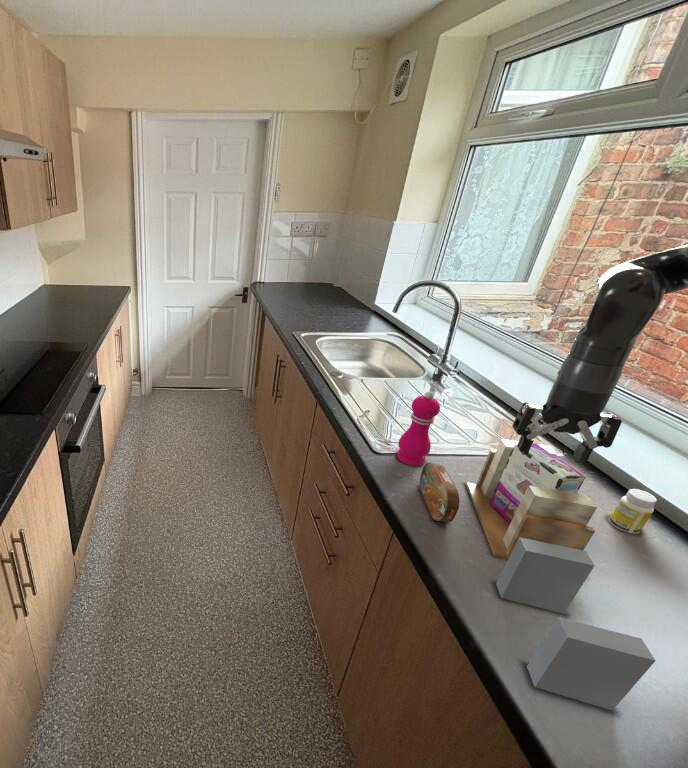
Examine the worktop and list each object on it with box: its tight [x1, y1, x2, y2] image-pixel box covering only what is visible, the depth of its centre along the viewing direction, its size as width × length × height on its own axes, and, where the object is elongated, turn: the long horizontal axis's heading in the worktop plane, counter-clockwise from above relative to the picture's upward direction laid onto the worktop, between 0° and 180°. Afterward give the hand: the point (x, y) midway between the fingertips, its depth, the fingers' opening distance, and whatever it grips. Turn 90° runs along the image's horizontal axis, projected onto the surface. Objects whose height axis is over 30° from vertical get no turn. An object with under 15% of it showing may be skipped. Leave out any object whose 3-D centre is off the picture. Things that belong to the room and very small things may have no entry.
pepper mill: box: [396, 391, 441, 467], centre depth 104 cm, size 7×7×20 cm
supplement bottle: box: [608, 488, 658, 534], centre depth 85 cm, size 5×5×8 cm
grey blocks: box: [495, 537, 656, 711], centre depth 64 cm, size 9×18×12 cm, turn 160°
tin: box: [419, 462, 460, 523], centre depth 91 cm, size 15×3×8 cm, turn 167°
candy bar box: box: [489, 442, 587, 524], centre depth 84 cm, size 11×5×16 cm, turn 4°
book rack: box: [465, 438, 598, 560], centre depth 84 cm, size 14×22×15 cm, turn 160°
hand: (549, 456), depth 80 cm, fingers open, 8 cm apart
